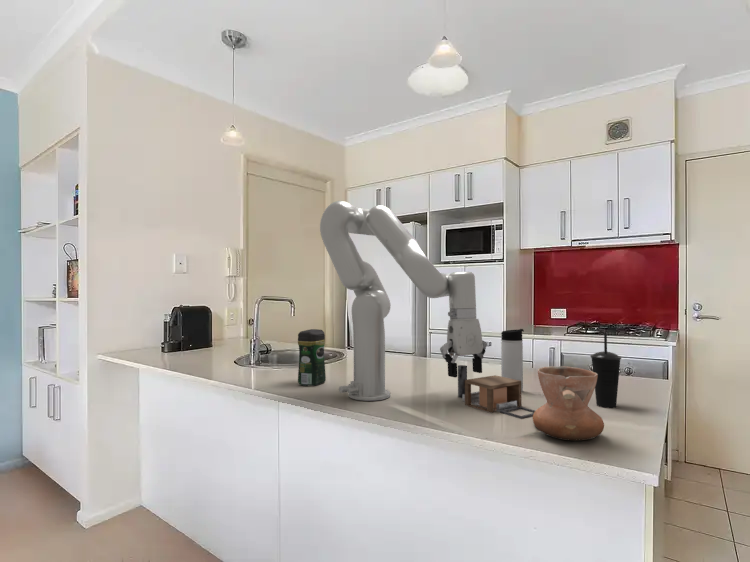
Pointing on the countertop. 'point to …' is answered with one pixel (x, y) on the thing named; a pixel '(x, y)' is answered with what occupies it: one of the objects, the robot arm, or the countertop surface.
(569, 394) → the ceramic jug
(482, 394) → the block
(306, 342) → the coffee jar
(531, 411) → the dark piece
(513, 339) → the travel mug
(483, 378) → the tunnel
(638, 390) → the countertop surface
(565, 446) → the countertop surface
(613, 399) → the drinking cup
